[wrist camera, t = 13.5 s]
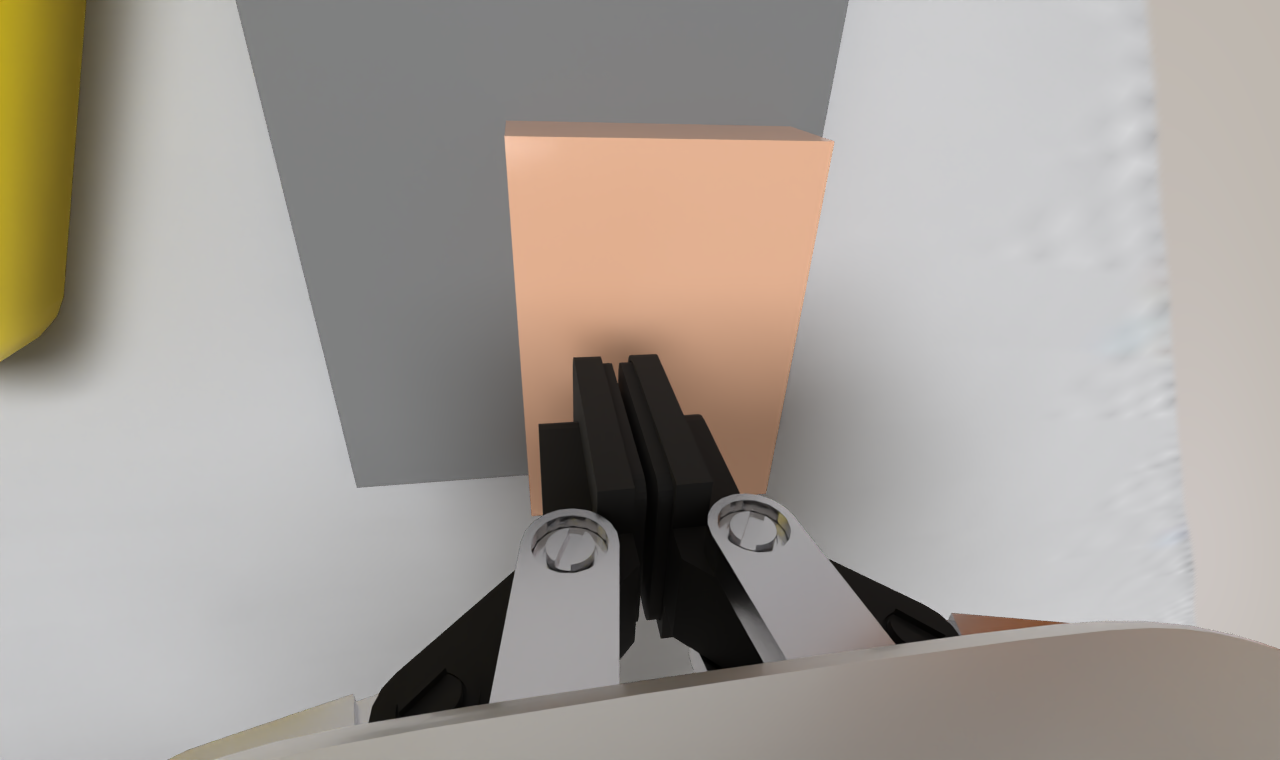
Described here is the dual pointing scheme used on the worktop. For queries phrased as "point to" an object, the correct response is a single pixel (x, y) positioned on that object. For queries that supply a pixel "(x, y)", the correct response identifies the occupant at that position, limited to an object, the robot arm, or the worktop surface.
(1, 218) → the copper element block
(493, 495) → the worktop surface
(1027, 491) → the worktop surface
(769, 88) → the mat
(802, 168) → the block
